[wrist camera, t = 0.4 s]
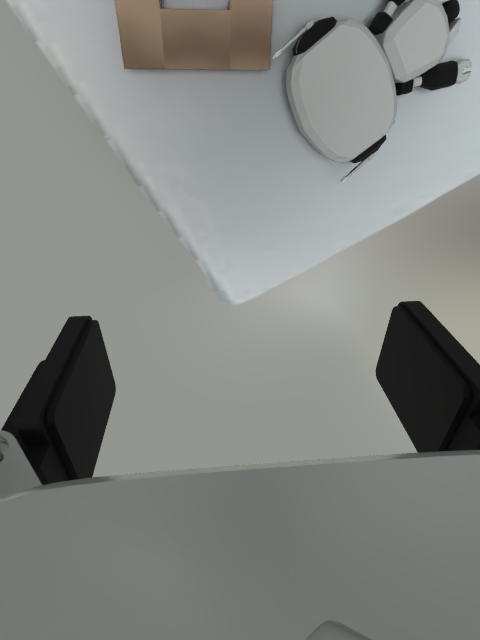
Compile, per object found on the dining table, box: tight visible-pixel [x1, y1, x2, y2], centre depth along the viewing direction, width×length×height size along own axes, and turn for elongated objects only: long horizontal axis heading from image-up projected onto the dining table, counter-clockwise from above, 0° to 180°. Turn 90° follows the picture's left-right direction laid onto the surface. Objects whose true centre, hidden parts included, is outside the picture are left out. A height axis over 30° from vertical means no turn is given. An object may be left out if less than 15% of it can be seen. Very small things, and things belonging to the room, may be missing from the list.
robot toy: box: [272, 0, 471, 184], centre depth 31 cm, size 12×4×15 cm
